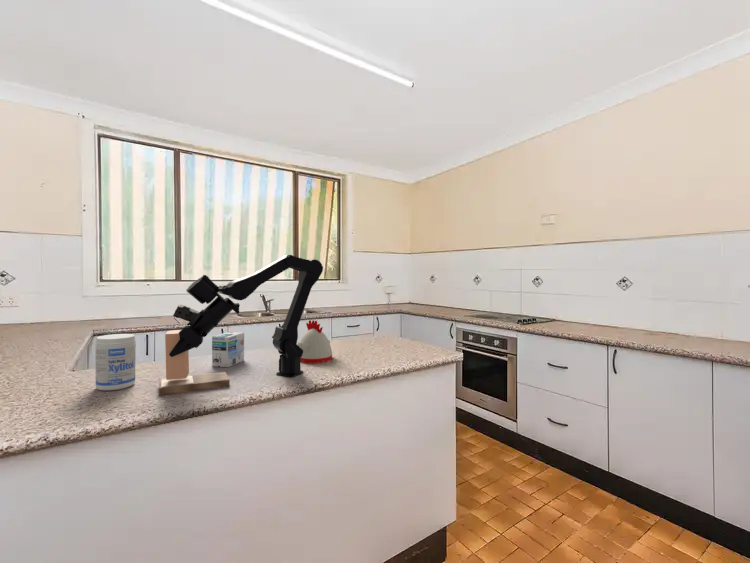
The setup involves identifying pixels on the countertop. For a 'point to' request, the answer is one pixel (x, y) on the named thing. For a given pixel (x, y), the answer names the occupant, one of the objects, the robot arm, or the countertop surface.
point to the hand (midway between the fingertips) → (172, 353)
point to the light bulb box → (227, 349)
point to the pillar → (175, 358)
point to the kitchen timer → (315, 345)
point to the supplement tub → (115, 361)
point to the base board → (193, 383)
